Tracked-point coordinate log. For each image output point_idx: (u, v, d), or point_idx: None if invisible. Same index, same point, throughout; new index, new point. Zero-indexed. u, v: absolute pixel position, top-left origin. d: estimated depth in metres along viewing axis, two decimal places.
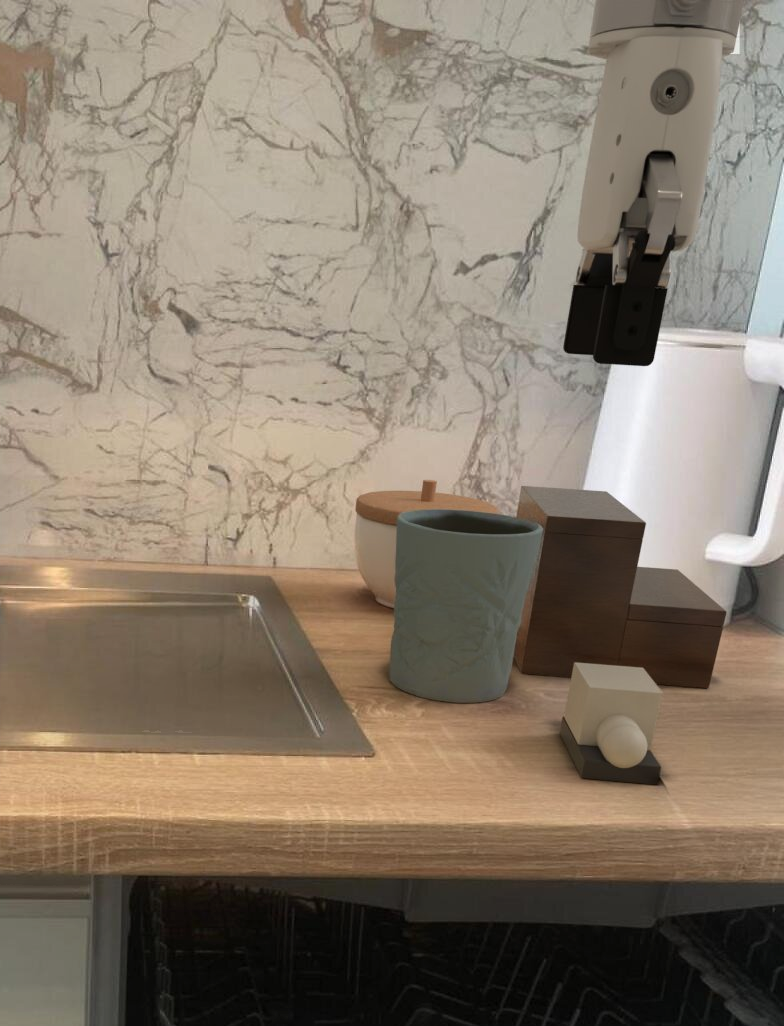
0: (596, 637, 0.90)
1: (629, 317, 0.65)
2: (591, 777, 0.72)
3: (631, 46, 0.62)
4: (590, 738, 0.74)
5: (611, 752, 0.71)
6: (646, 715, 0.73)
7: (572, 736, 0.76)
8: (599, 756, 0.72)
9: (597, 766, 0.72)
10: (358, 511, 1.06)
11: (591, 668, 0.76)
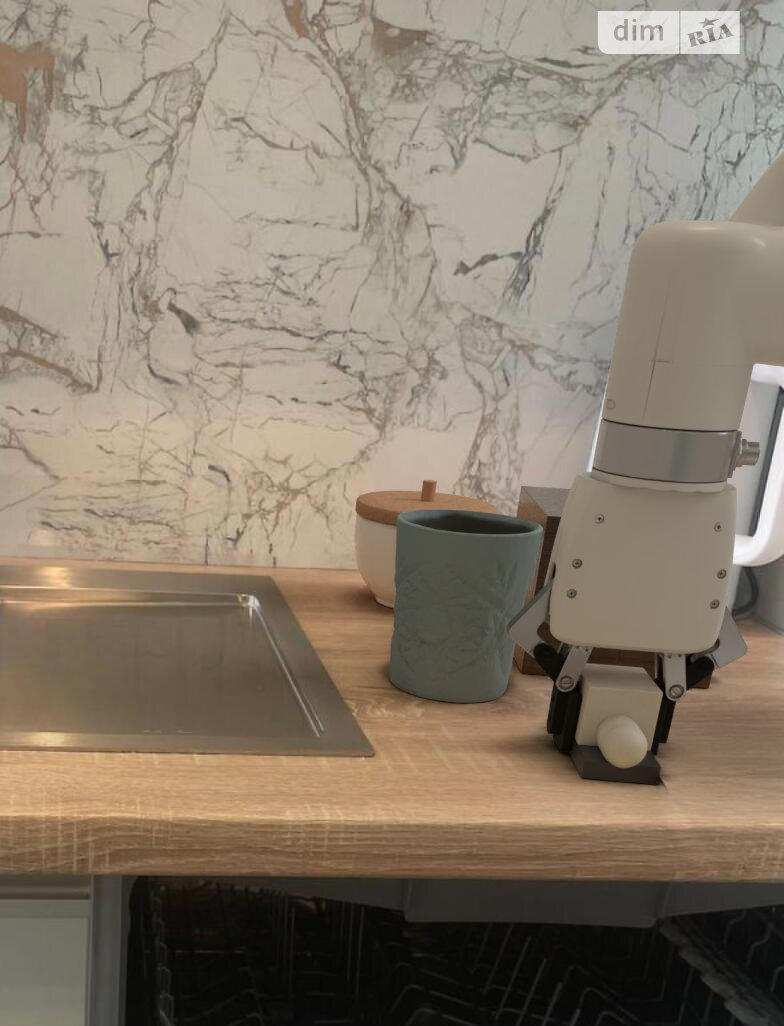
0: None
1: None
2: (591, 777, 0.72)
3: (723, 497, 0.68)
4: (590, 738, 0.74)
5: (611, 752, 0.71)
6: (646, 715, 0.73)
7: None
8: (599, 756, 0.72)
9: (597, 766, 0.72)
10: (358, 511, 1.06)
11: (591, 668, 0.76)
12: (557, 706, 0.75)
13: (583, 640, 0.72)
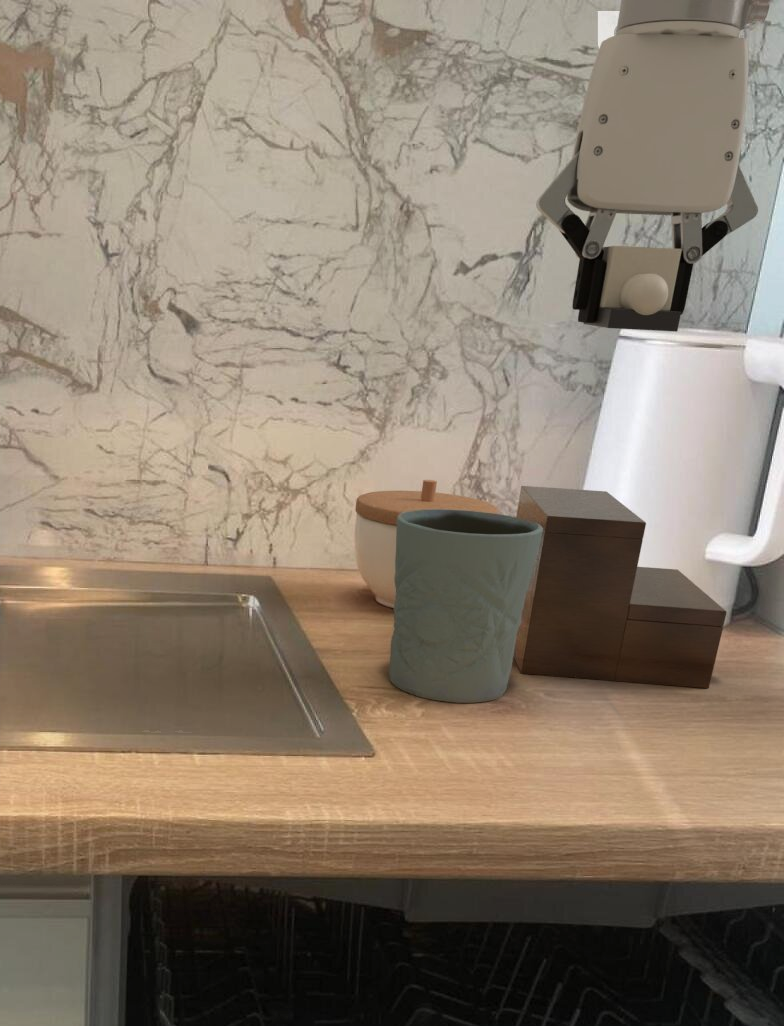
0: (596, 637, 0.90)
1: None
2: (617, 326, 0.78)
3: (737, 43, 0.74)
4: (614, 300, 0.80)
5: (635, 296, 0.77)
6: (666, 273, 0.79)
7: None
8: None
9: (622, 314, 0.78)
10: (358, 511, 1.06)
11: None
12: (583, 277, 0.81)
13: (608, 200, 0.78)
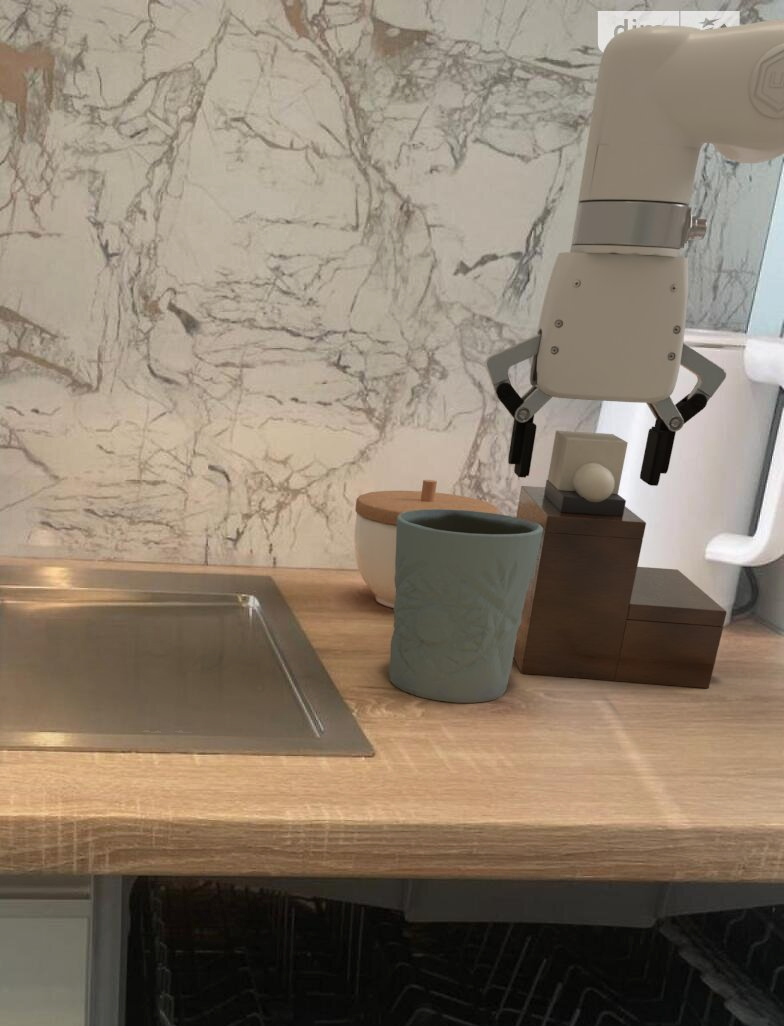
0: (596, 637, 0.90)
1: None
2: (569, 511, 0.88)
3: (677, 262, 0.83)
4: (568, 484, 0.90)
5: (585, 487, 0.87)
6: (614, 462, 0.89)
7: (554, 487, 0.91)
8: (576, 495, 0.88)
9: (573, 501, 0.88)
10: (358, 511, 1.06)
11: (569, 432, 0.92)
12: (516, 437, 0.90)
13: (564, 392, 0.88)
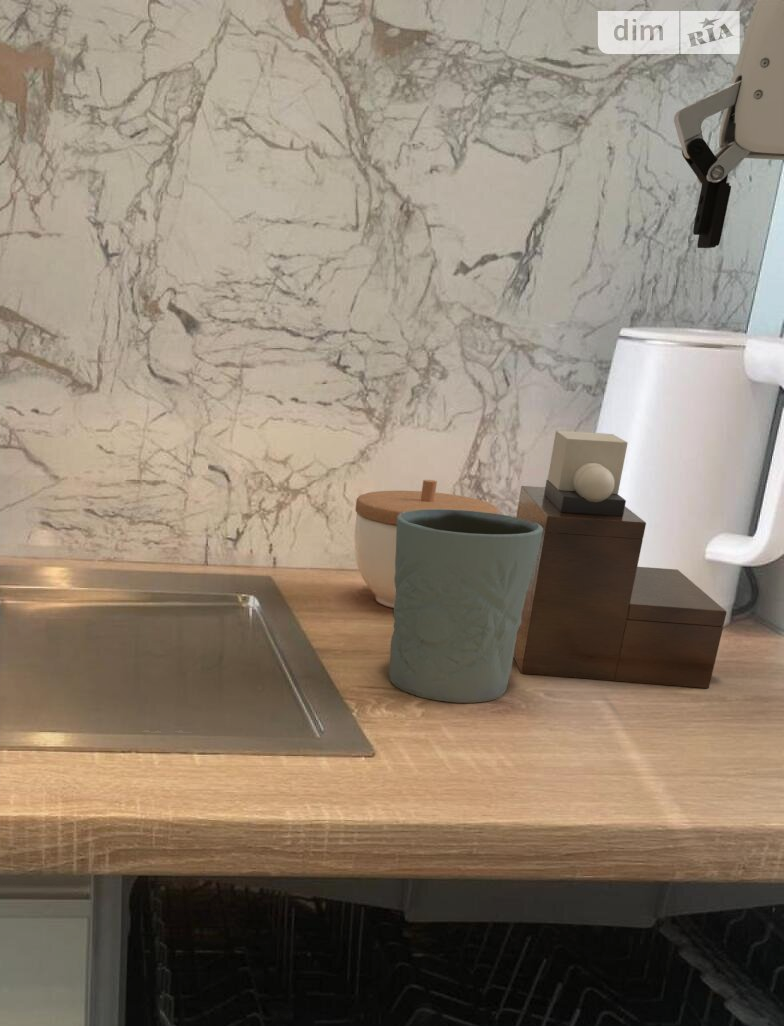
0: (596, 637, 0.90)
1: None
2: (569, 511, 0.88)
3: None
4: (568, 484, 0.90)
5: (585, 487, 0.87)
6: (614, 462, 0.89)
7: (554, 487, 0.91)
8: (576, 495, 0.88)
9: (573, 501, 0.88)
10: (358, 511, 1.06)
11: (569, 432, 0.92)
12: (706, 201, 0.83)
13: (766, 143, 0.80)
